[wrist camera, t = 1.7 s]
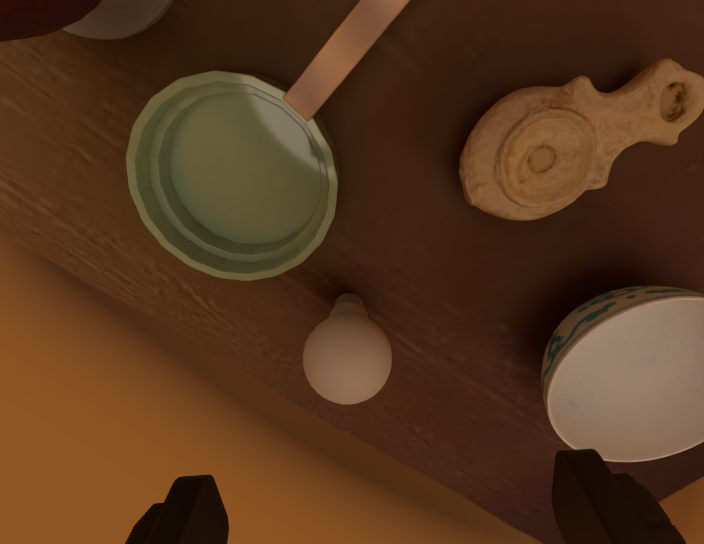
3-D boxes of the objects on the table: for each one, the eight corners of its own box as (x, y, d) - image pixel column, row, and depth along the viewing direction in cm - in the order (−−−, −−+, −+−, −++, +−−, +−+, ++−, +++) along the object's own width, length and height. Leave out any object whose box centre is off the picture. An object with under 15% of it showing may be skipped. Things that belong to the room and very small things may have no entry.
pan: (122, 176, 32) (87, 192, 28) (227, 23, 27) (204, 15, 23) (265, 286, 36) (253, 313, 31) (377, 167, 31) (380, 182, 27)
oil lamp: (681, 95, 29) (741, 99, 24) (524, 247, 34) (550, 274, 29) (581, -19, 26) (628, -37, 22) (426, 165, 31) (438, 181, 27)
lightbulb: (343, 255, 34) (338, 330, 24) (399, 297, 36) (415, 383, 26) (299, 305, 36) (278, 393, 26) (354, 342, 38) (353, 438, 28)
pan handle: (310, 119, 27) (307, 122, 25) (286, 96, 26) (282, 98, 25) (451, -50, 23) (458, -58, 22) (426, -81, 22) (431, -92, 21)
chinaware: (715, 250, 34) (808, 297, 27) (658, 394, 40) (721, 462, 33) (527, 251, 34) (571, 298, 27) (501, 395, 40) (531, 462, 33)
